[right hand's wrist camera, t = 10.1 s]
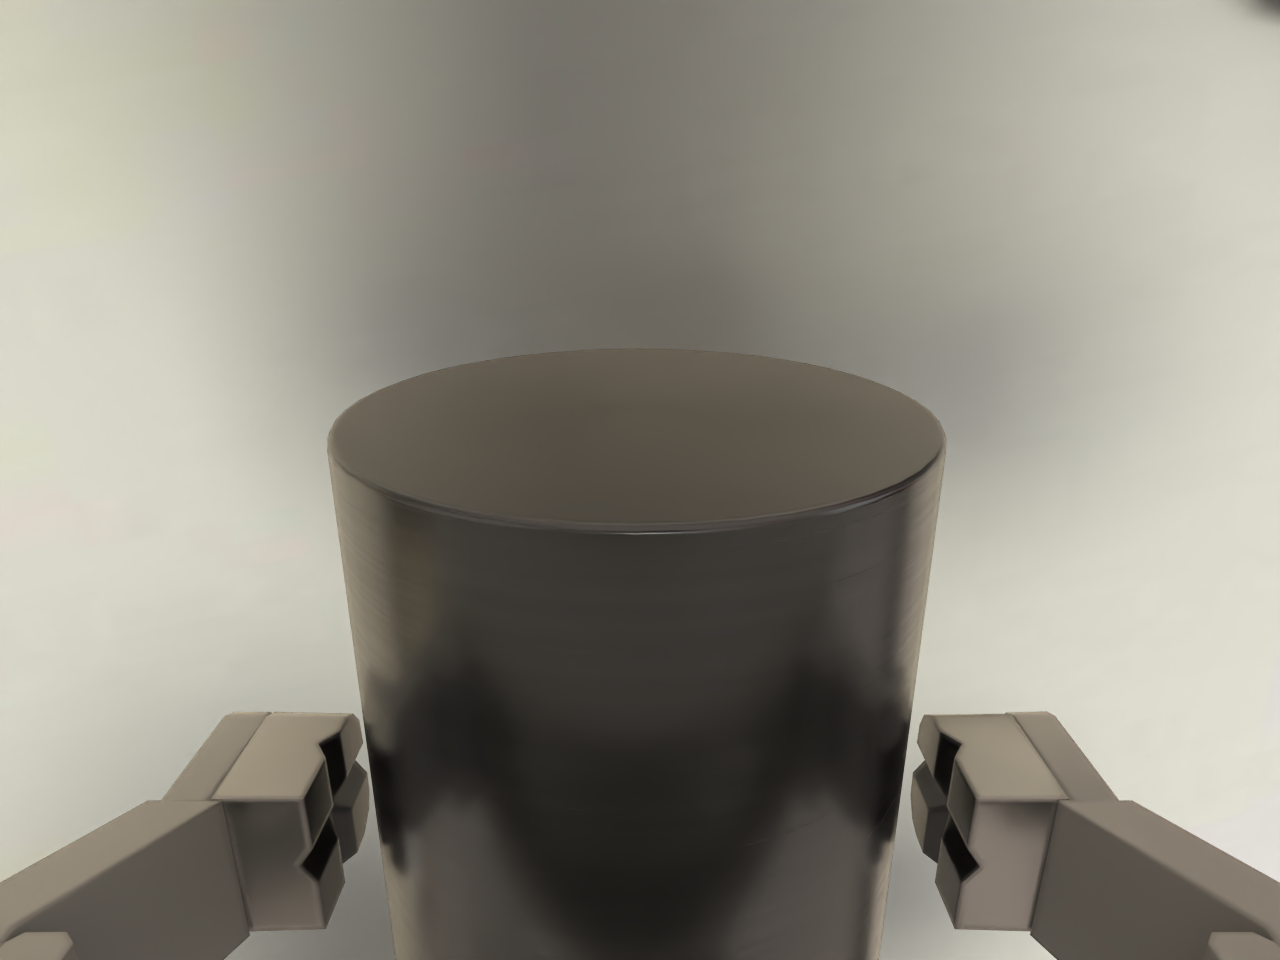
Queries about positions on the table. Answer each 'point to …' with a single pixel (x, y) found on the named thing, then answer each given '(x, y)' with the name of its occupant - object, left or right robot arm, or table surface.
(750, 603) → the rod
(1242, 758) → the table surface
